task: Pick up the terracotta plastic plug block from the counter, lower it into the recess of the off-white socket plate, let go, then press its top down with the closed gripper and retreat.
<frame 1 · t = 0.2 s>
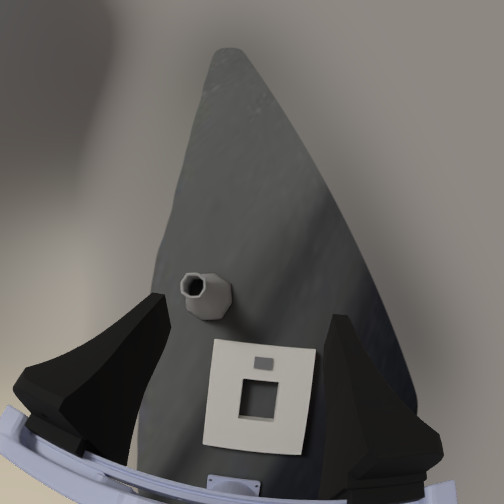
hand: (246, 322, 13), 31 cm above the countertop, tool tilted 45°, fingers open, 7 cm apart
socket: (258, 398, 40), on the countertop
flask: (208, 296, 45), on the countertop
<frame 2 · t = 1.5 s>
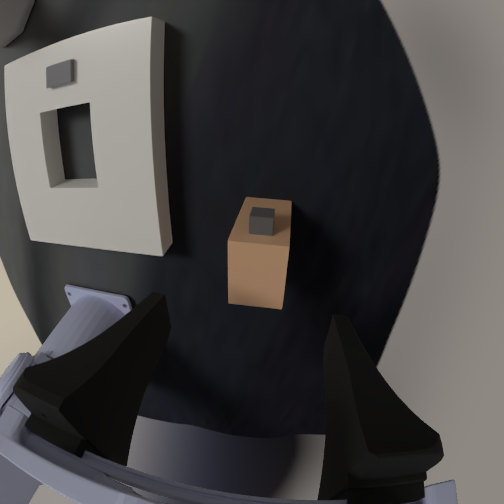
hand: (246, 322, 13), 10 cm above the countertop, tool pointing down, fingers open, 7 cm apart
plug: (267, 226, 21), on the countertop
socket: (82, 141, 19), on the countertop
flask: (13, 11, 13), on the countertop
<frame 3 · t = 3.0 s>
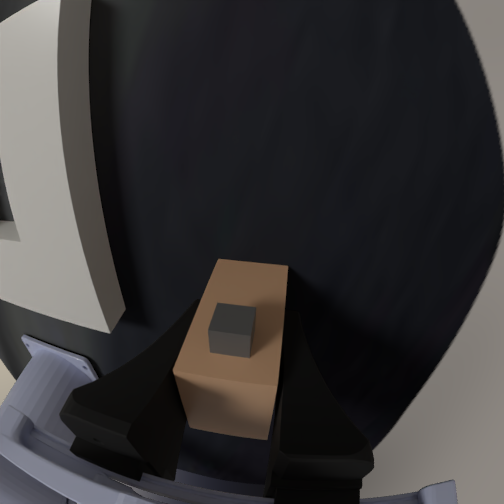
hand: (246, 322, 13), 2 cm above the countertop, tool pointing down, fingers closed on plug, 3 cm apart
plug: (251, 298, 14), on the countertop, touching gripper
socket: (6, 174, 12), on the countertop
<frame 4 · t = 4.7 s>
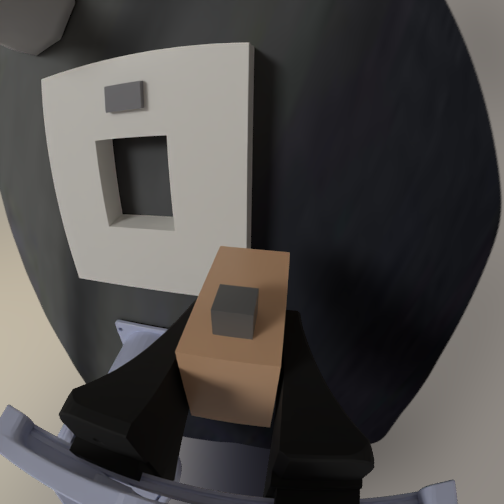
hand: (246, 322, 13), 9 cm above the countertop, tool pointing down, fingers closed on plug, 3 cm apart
plug: (253, 286, 14), point 7 cm above the countertop, touching gripper
socket: (147, 174, 19), on the countertop
flask: (45, 14, 13), on the countertop
when the fingers open (3 cm above the countertop, at t = 6.6 s): plug drops 1 cm, resting in socket.
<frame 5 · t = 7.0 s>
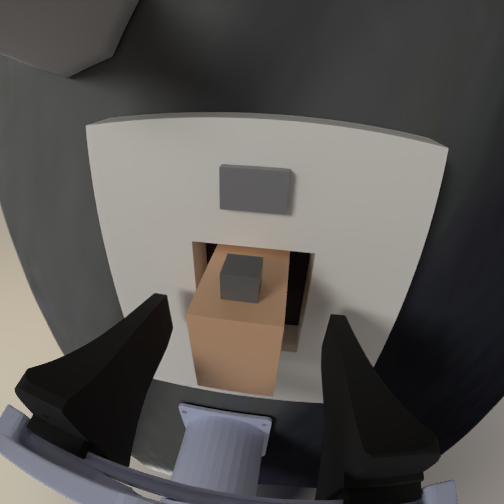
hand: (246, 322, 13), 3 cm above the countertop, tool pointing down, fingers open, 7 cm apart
plug: (256, 265, 15), resting in socket
socket: (255, 278, 15), on the countertop
flask: (81, 12, 9), on the countertop
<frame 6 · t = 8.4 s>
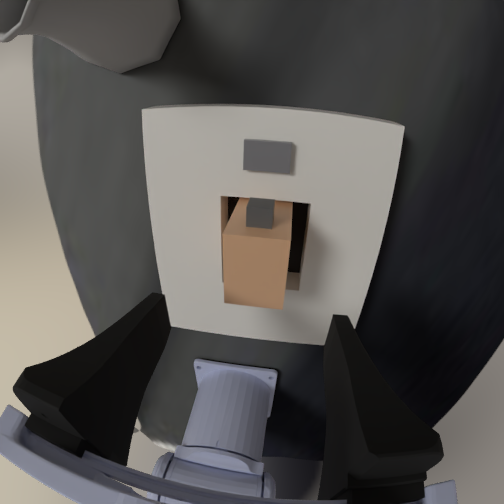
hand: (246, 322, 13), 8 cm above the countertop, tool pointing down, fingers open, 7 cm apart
plug: (266, 220, 19), resting in socket
socket: (266, 231, 20), on the countertop
flask: (131, 22, 14), on the countertop
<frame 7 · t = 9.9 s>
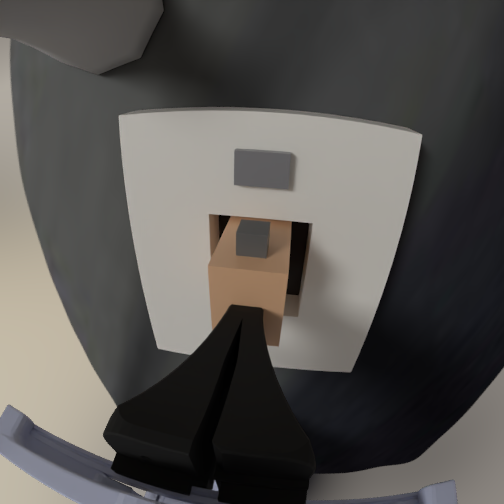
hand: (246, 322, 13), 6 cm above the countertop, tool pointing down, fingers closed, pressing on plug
plug: (262, 238, 17), resting in socket, touching gripper
socket: (261, 250, 18), on the countertop
flask: (110, 17, 11), on the countertop
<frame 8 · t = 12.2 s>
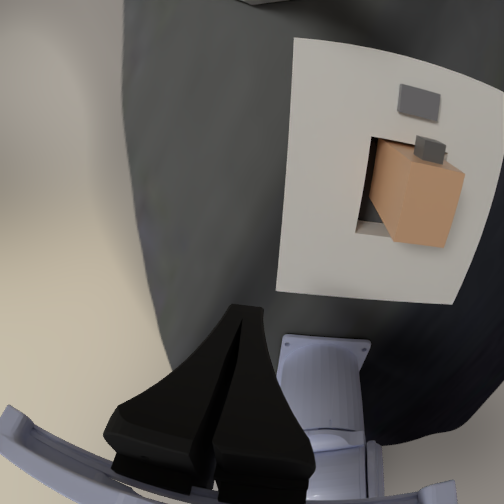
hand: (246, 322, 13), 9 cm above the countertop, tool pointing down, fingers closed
plug: (395, 171, 17), resting in socket
socket: (393, 182, 18), on the countertop
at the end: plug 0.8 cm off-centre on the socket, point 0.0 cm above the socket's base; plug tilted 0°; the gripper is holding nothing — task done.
